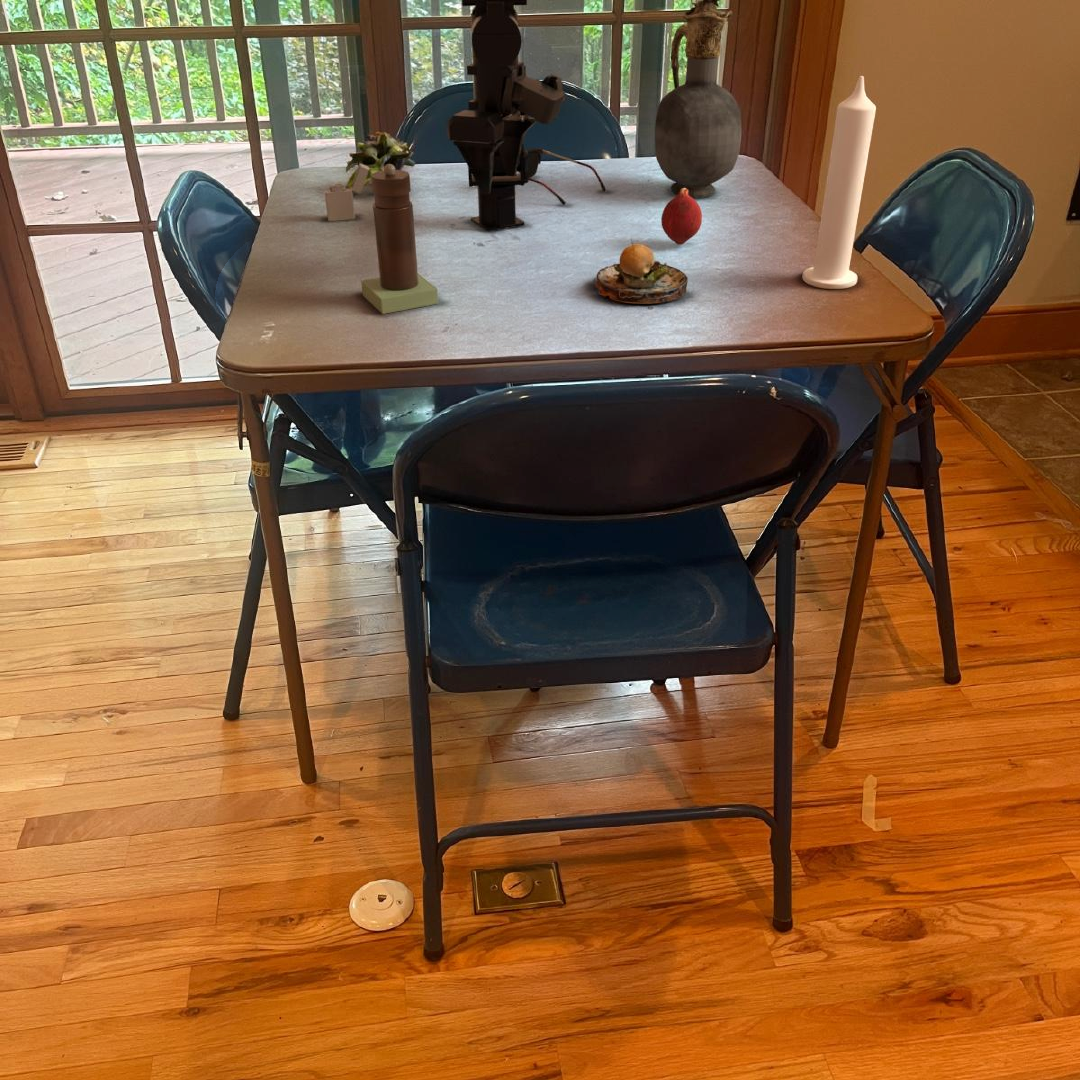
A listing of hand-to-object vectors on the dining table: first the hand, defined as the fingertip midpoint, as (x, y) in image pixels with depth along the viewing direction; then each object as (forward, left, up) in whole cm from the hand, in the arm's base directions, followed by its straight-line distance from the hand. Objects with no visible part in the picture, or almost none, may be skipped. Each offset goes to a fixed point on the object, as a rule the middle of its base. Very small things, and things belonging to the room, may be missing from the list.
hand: (498, 184), depth 133 cm
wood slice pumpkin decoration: (+17, +12, -11) cm, 24 cm away
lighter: (-32, -11, -11) cm, 36 cm away
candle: (+26, +36, -11) cm, 46 cm away
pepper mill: (+5, -17, -9) cm, 20 cm away
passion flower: (-44, -1, -11) cm, 45 cm away
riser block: (+5, -17, -11) cm, 21 cm away
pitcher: (-20, +45, -11) cm, 50 cm away
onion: (+4, +27, -11) cm, 30 cm away
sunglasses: (-31, +24, -11) cm, 41 cm away
